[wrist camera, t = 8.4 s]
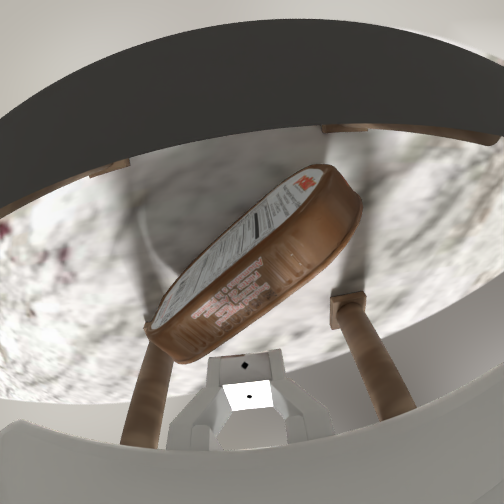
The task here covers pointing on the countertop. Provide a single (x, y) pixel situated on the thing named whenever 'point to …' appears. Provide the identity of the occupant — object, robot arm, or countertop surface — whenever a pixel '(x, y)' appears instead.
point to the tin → (257, 263)
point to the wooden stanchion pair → (341, 316)
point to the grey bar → (243, 93)
